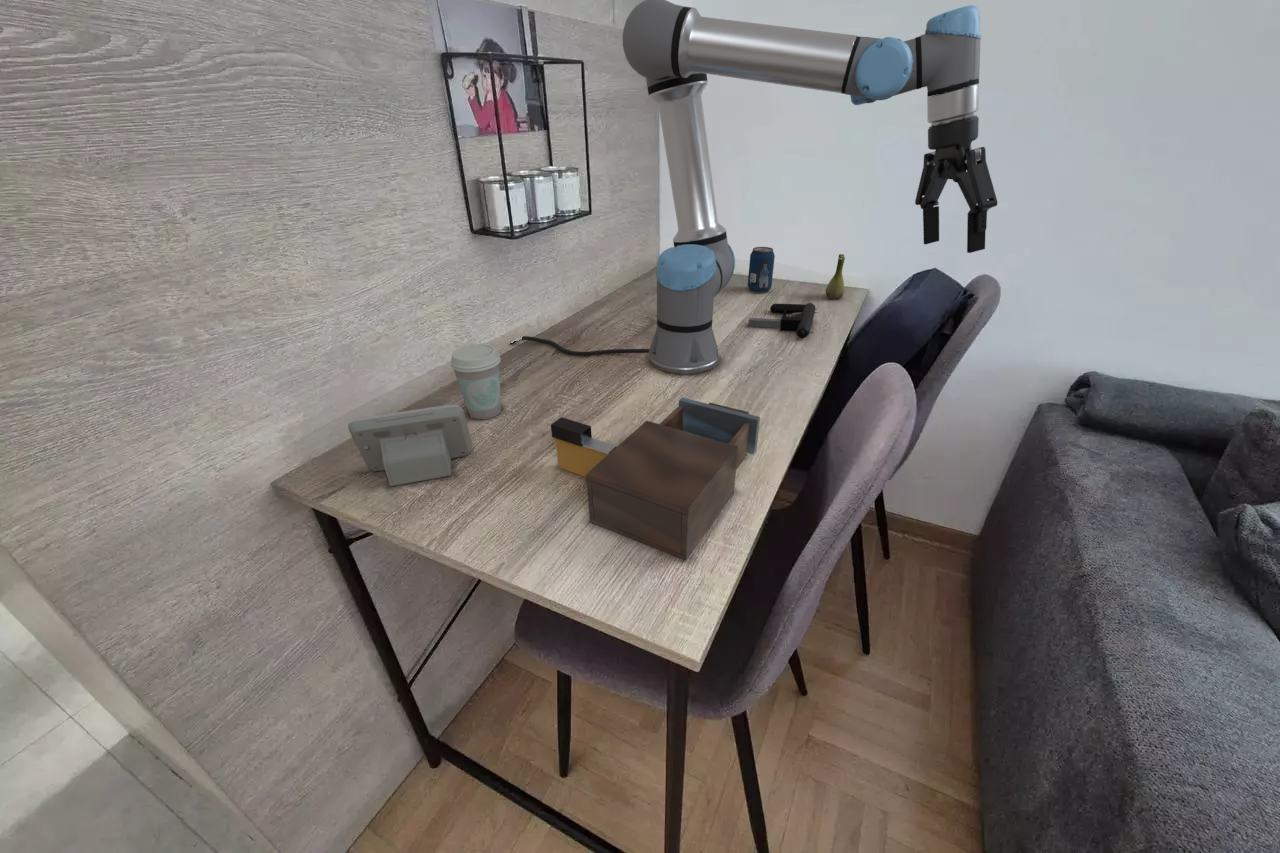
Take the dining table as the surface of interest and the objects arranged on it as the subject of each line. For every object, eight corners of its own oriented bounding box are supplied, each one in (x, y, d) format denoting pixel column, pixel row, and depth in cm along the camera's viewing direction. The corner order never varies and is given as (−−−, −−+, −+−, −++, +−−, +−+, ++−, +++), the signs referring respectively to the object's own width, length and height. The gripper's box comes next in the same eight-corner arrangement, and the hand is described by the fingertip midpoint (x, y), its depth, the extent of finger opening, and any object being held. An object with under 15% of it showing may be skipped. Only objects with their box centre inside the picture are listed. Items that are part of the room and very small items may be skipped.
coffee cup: (461, 426, 96) (447, 364, 90) (461, 404, 103) (449, 345, 97) (510, 419, 98) (500, 358, 92) (507, 398, 105) (497, 340, 99)
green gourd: (835, 302, 151) (843, 258, 145) (820, 298, 154) (827, 255, 148) (846, 297, 154) (854, 254, 148) (831, 293, 158) (838, 251, 151)
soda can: (757, 285, 166) (761, 245, 159) (775, 290, 161) (780, 249, 155) (742, 290, 162) (745, 248, 156) (760, 295, 157) (764, 253, 151)
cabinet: (646, 464, 85) (646, 420, 81) (734, 493, 79) (738, 446, 75) (589, 522, 74) (585, 474, 70) (686, 561, 67) (688, 510, 63)
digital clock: (478, 449, 90) (466, 392, 84) (468, 481, 82) (455, 421, 77) (377, 456, 89) (358, 398, 83) (358, 489, 81) (336, 428, 76)
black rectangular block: (551, 437, 81) (550, 424, 80) (562, 429, 83) (561, 416, 82) (607, 455, 77) (606, 442, 76) (617, 446, 79) (616, 433, 78)
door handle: (744, 324, 130) (814, 328, 125) (758, 299, 146) (820, 301, 141) (744, 338, 132) (813, 341, 127) (757, 311, 148) (819, 314, 143)
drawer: (692, 418, 96) (693, 386, 93) (766, 437, 90) (770, 404, 87) (637, 473, 82) (636, 438, 79) (720, 501, 76) (722, 464, 73)
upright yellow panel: (558, 467, 85) (554, 435, 82) (563, 463, 86) (559, 431, 83) (612, 486, 81) (610, 453, 78) (616, 482, 82) (614, 449, 78)
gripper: (1028, 104, 81) (1020, 248, 90) (932, 120, 104) (933, 234, 112) (978, 118, 81) (975, 260, 90) (893, 131, 104) (898, 244, 113)
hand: (952, 246), depth 101 cm, fingers open, 13 cm apart
